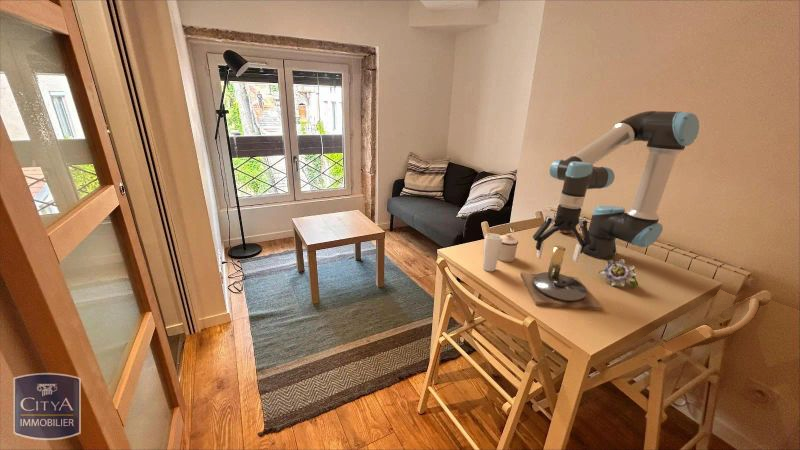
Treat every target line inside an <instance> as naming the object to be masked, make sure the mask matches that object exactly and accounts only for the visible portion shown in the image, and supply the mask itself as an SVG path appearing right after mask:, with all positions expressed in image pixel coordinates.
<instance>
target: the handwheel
mask: <svg viewBox="0 0 800 450" xmlns="http://www.w3.org/2000/svg"><path fill="white" fill-rule="evenodd" d="M566 250H567V249H566V248H565V247H564V246H561V245H554V246H553V249H552V252H551V253H552V254H551V257H550V262H549V266H548V269H547V272H546V271H545V272H539V273H535V274H536V275H535V276H534V278H533V285H534V287H535V288H536V289H537V290H538V291H539V292H541V293H542V294H544V295H546V296H548V297H550V298H553V299H556V300H560V301H565V302H578V301H581V300H583V299H584V298H585V297H586V294H587V290H586V288H587V287H586V286H585V285H584V284H583V285H584V286H585V287H586V288H585V287H584V286H583V285H582V284H581V283H580V282H578V281H577V280H575V279H573V278H571V277H572V276H569V275H565V274H561V273H560V272H561V269H562V266H563V262H564V257H565V253H566ZM568 276H569V277H568Z"/></svg>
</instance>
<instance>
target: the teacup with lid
mask: <svg viewBox="0 0 800 450" xmlns="http://www.w3.org/2000/svg"><path fill="white" fill-rule="evenodd" d="M501 236H502V245H501V249H500V253H499V257H498V260H497V261H501V262H505V263H506V262H507V263H510V262H511V263H512V262H513V261H514V260H515V258H516V254H517V252H516V251H517V247H518V244H519V240H518V239H517V238H516V237H513V236H512V235H511V233H506V234H504V235H501Z"/></svg>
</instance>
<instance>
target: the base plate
mask: <svg viewBox="0 0 800 450" xmlns="http://www.w3.org/2000/svg"><path fill="white" fill-rule="evenodd" d="M536 274H537V273H532V272H531V273H528V272H520V278H521V280H522V281H523V283H524V286H525V287H526V290H527V291H528V293H529V295H530V297H531V299H532V301H533V303H534V305H535V306H539V307H540V306H542V307H554V308H567V309H575V308H576V310H587V309H591V310H590V311H598V310H603V306H602V304H600V302H599V301H598V300H597V299H596V298H595V296H594V295H593V294H592V293H591V291H590V290H589V289H588V288H587V287H586V286H585V285H584V284H583V282H582V281H581V280H580V278H578V276H569V275H567V276H568V277H571V278H573V279H575V280H577V281H578V282H580V283H581V284H582V285H583V286H584V287H585V288H586V290H587V294H586V297H585V298H584V299H583V300H581V301H578V302H565V301H560V300H556V299H553V298H550V297H548V296H546V295H544V294H542V293H541V292H539V291H538V290H537V289H536V288H535V287H534V285H533V278H534V276H535V275H536Z"/></svg>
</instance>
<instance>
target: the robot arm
mask: <svg viewBox="0 0 800 450" xmlns="http://www.w3.org/2000/svg"><path fill="white" fill-rule="evenodd" d="M699 130H700V120H699V117H698V116H697V115H696V114H695V113H692V112H686V111H662V110H661V111H660V110H659V111H658V110H655V111H654V110H647V111H642V112H638V113H637V114H634V115H631V116H629V117H628V116H627V118H624V119H622V120H621V121H620V122H618V123H616V124H615V125H613V126H612V127H611V130H610V131H608V132H606V133H605V134H604V135H602V136H600V137H598V138H597V139H596V140H594V141H592V142H591V143H590V144H588V145H587V146H585V147H584V148H582V149H580V150H579V151H578V152H576V153H575V154H573V155H571V156H570V157H568V158H566V159H555V160H554V161H552V163H551V164H550V166H549V176H551V177H552V178H554V179H556V180H559V181H563V185H562V186H563V187H562V190H561V193H560V197H559V201H558V203H559V204H558V206H557V209H556V215H555V217H550V215H549V216H548V215H547V216H546V217H545V220H544V222H543V223H542V224H541V225H540V227H539V228H538V229H537V230H536V232H534V234H533V235H532V238H533V240H534V241H536V245H535V249H536V255H535V256H536V258H538V260H541V258H542V254H543V250H544V245H545V241H546V240H547V239H548V238H550V236H552V235H553V234H555V233H556V232H558V231H559V230H561V231H564V230H566V231H570V230H571V231H572V232H571V233H572V234H573V235H574V237H575V238H576V240H577V243H576V244H575V248H574V252H573V255H572V260H573V261H574V262H575V263H578V262H579V259H580V254H585V255H587V256H590V257H593V258H597V259H605V260H609V259H610V260H612V259H614V258H615V257H616V254H617V246H616V245H617V244H616V240H617V239H618V240H620V241H623V242H626V243H628V244H630V245H632V246H636V247H638V248H639V247H640V248H647V247H649V246H651V245H653V244H654V243H655V242H656V241H657V240H658V239H659V238H660V235H661V234H662V233H663V228H664V227H663V225H662V223H660V222H659V220H660V216H659V215H658V214H657V213H658V209H659V206H660V203H661V200H662V198H663V195H664V193H665V190H666V187H667V183H668V180H669V178H670V175H671V172H672V170H673V166H674V164H675V161H676V159H677V155H678V154H680V153H682V152H683V151H684V150H685V147H688V146H691V145H692V144H693V143H694V142H695V140H696V139H697V137H698V135H699V133H700V132H699ZM633 142H647V143H646V148H647V150H648V151H649V152H648V156H647V159H646V162H645V164H644V168H643V171H642V173H641V177H640V180H639V182H638V183H639V184H638V187H637V189H636V192H635V195H634V198H633V202H632V204H631V207H630V209H627V210H626V209H625V208H624V207H621V206H616V205H598V206H596V207H595V208H594V209H593V212H592V214H591V217H590V218H591V219H590V222H589V227H588V221H587V220H586V219H584V218H581V219H579V218H580V217H581V212H582V207H583V205H584V201H585V197H586V194H587V190H592V189H593V190H595V189H596V190H597V189H599V190H601V189H603V188H604V189H605V188H608V187H610V186H611V185H612V184H613V183H614V180H615V172H614V171H613V170H612V169H611V168H610V167H608V166H607V167H606V166H605V167H604V166H593V165H595V164H597V163H598V162H599V161H601V160H602V159H604V158H605V157H607V156H608V155H610V154H611V153H613V152H615V151H616V150H617V149H619V148H621V147H622V146H627V145H629V144H631V143H633ZM551 224H552V225H551ZM578 225H579V226H580V228H581V229H580V230H581V232H582V236H581V235H580V233H579V232H578V229H577V226H578ZM575 226H576V228H575ZM561 231H560V232H561Z"/></svg>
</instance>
